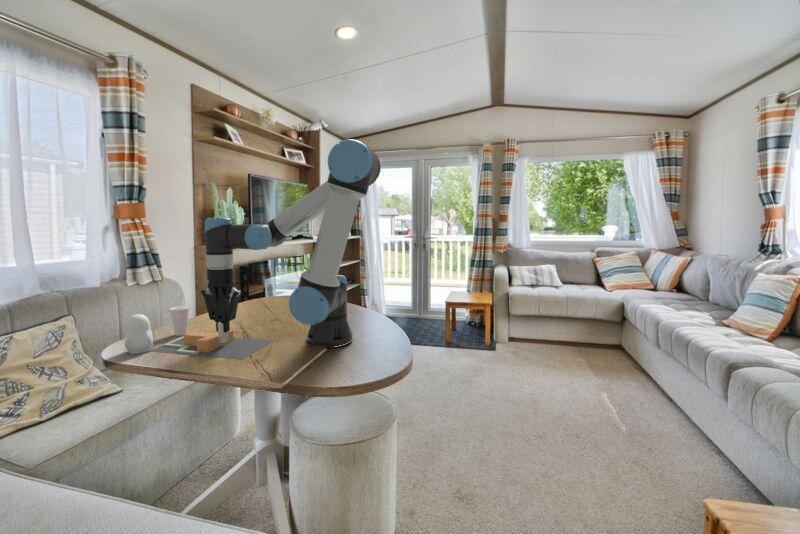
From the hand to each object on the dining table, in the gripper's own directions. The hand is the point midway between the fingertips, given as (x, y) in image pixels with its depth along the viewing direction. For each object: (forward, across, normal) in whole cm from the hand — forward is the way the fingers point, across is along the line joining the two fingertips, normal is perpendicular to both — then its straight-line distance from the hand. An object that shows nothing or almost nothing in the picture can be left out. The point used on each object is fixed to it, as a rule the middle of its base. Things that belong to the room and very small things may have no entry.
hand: (223, 341), depth 120 cm
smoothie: (+3, +25, -11) cm, 28 cm away
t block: (+2, +7, 0) cm, 7 cm away
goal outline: (+2, +11, 0) cm, 11 cm away
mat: (+3, +3, 0) cm, 4 cm away
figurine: (+3, +24, +7) cm, 25 cm away
